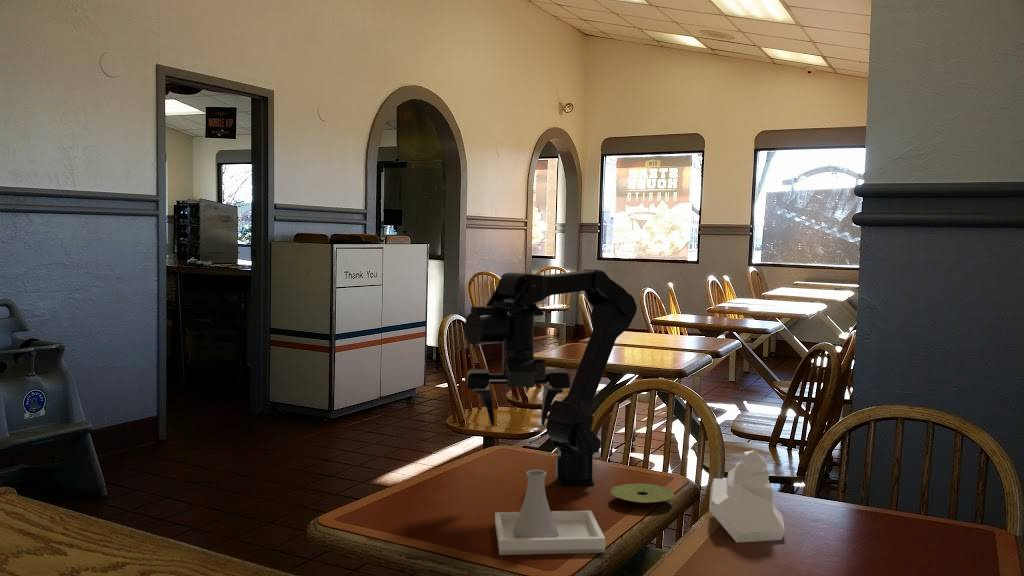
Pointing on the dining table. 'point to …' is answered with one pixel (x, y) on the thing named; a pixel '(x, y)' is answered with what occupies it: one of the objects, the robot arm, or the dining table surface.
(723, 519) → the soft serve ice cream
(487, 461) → the dining table surface
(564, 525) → the tray
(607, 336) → the robot arm
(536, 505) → the flask
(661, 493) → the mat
